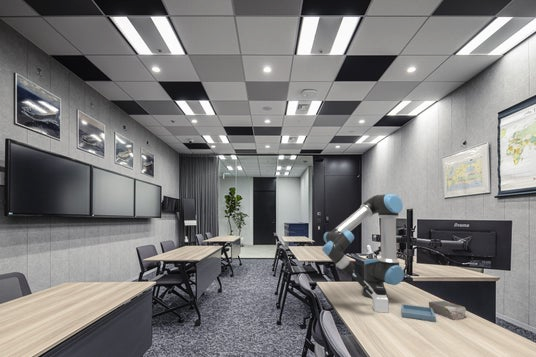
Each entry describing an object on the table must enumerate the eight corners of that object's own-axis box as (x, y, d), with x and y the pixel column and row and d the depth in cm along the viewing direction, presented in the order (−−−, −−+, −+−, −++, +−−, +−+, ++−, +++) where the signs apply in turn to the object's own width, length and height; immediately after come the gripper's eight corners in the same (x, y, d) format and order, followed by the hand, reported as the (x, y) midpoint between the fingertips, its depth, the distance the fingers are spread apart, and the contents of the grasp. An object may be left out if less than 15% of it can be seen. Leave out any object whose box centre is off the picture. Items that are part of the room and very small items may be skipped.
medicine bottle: (389, 313, 151) (388, 289, 153) (374, 312, 153) (374, 288, 154) (386, 308, 158) (385, 286, 160) (372, 307, 160) (372, 285, 161)
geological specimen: (442, 299, 160) (468, 306, 146) (443, 311, 159) (469, 319, 145) (427, 301, 157) (453, 308, 143) (428, 312, 156) (454, 321, 142)
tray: (401, 308, 159) (401, 303, 159) (432, 312, 153) (432, 307, 153) (402, 317, 145) (401, 312, 146) (435, 322, 139) (435, 316, 140)
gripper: (338, 265, 173) (365, 293, 169) (342, 274, 149) (373, 306, 144) (347, 257, 173) (374, 284, 169) (353, 264, 148) (384, 296, 144)
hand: (374, 294), depth 156 cm, fingers open, 13 cm apart
